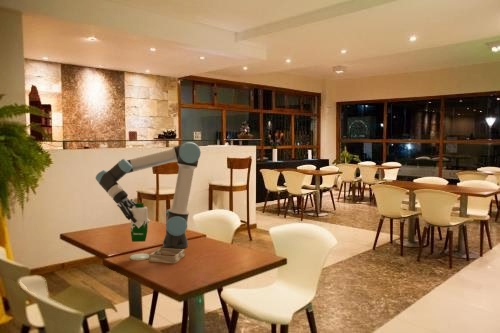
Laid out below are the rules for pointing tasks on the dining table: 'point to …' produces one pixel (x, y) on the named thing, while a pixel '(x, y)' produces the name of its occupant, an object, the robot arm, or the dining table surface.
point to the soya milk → (142, 216)
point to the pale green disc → (139, 257)
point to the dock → (158, 257)
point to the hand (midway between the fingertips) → (144, 224)
